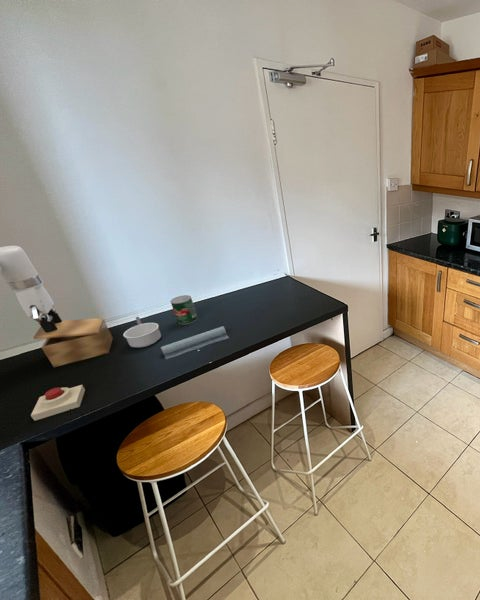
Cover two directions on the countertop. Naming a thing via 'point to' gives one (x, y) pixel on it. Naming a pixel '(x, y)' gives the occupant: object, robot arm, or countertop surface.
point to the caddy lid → (72, 328)
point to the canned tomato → (184, 309)
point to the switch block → (58, 403)
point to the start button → (53, 393)
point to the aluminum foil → (194, 342)
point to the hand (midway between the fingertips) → (54, 326)
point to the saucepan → (142, 334)
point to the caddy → (77, 347)
